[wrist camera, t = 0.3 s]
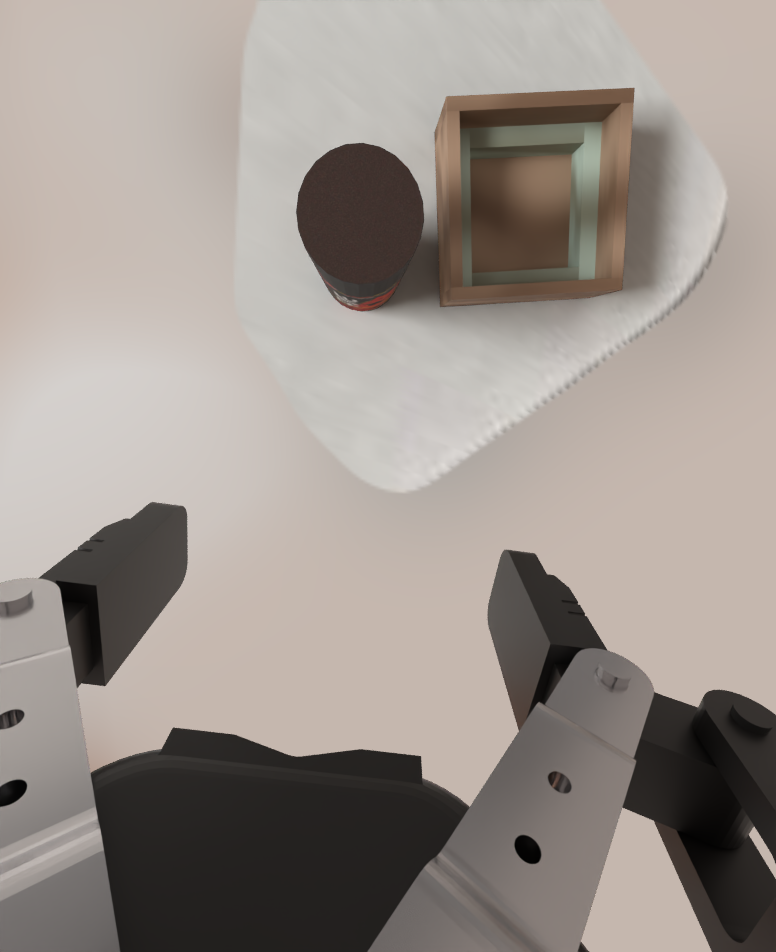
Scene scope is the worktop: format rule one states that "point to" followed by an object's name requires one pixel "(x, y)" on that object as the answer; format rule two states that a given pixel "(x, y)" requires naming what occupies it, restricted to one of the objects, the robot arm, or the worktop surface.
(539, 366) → the worktop surface
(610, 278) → the holder box
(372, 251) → the deodorant
